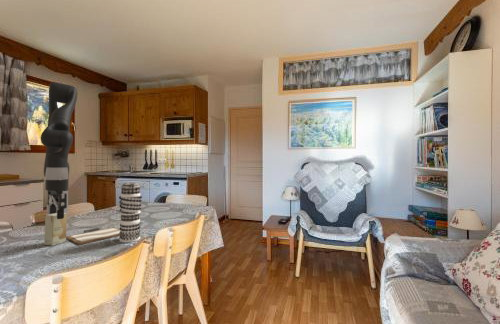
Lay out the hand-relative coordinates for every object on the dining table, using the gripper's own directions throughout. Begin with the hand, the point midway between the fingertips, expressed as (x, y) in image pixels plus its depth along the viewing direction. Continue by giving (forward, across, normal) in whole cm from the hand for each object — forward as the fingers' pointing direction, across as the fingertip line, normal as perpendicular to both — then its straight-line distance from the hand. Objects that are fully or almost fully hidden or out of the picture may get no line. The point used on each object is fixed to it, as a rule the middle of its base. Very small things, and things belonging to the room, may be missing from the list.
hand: (56, 217), depth 105 cm
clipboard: (+11, +3, +15) cm, 19 cm away
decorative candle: (+11, +18, +22) cm, 30 cm away
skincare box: (+11, 0, 0) cm, 11 cm away
